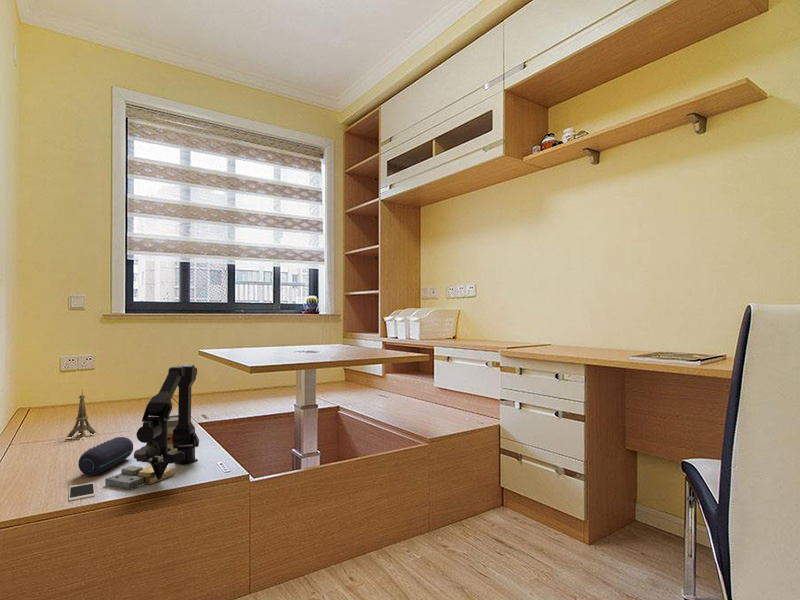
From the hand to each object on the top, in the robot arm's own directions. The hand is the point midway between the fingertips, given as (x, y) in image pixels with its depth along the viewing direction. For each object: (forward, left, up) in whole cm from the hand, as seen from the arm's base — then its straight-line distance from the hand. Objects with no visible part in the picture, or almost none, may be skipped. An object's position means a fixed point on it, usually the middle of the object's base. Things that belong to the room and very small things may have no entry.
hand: (159, 479), depth 167 cm
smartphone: (+15, -18, -2) cm, 24 cm away
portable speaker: (-5, -35, -2) cm, 36 cm away
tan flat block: (-3, -8, -1) cm, 8 cm away
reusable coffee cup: (-31, -27, -2) cm, 41 cm away
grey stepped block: (+3, -10, -1) cm, 11 cm away
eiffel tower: (-35, -94, -2) cm, 100 cm away
